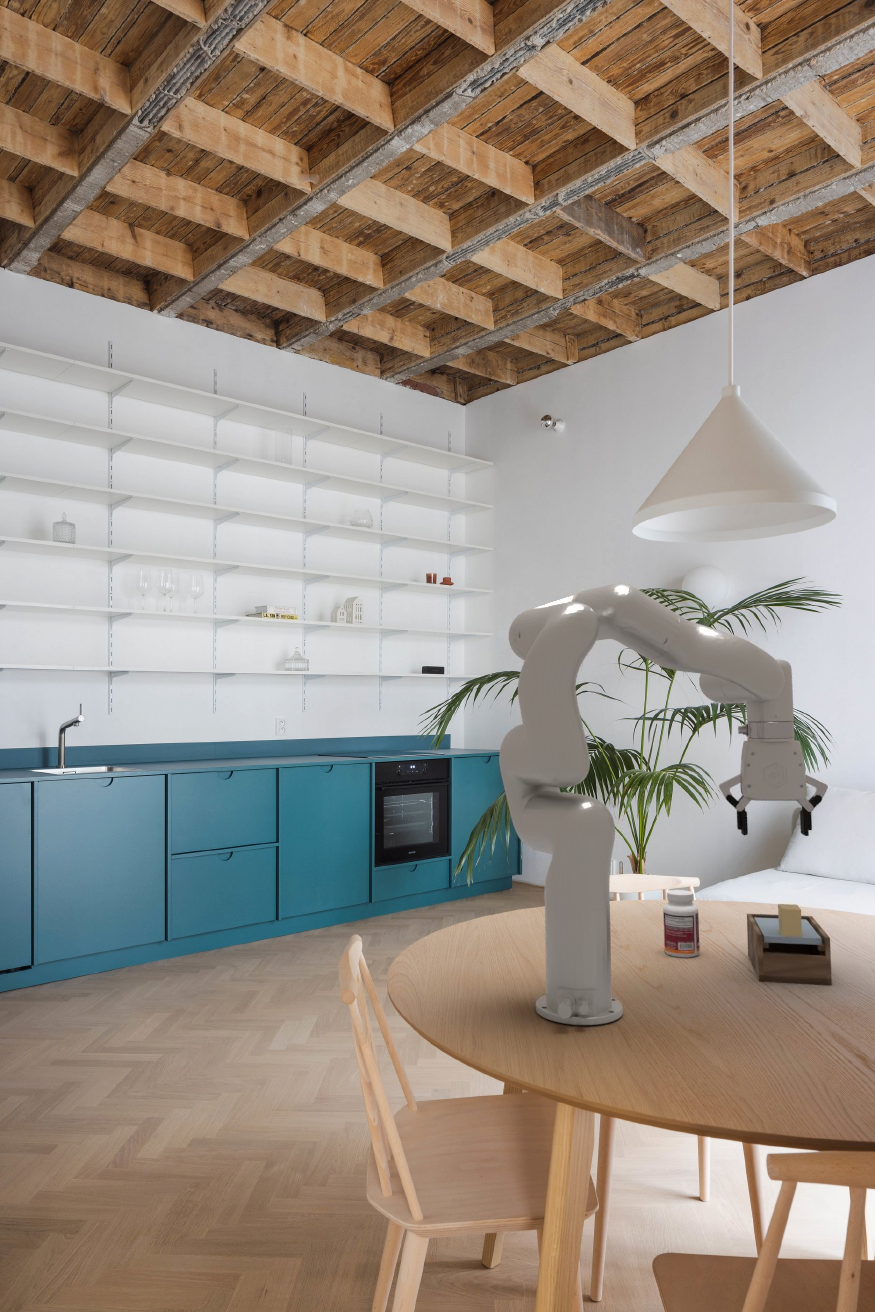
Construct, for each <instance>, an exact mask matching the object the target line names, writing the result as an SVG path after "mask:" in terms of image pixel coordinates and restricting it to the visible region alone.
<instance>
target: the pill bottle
mask: <svg viewBox="0 0 875 1312" xmlns="http://www.w3.org/2000/svg"><path fill="white" fill-rule="evenodd" d="M694 896H695V895H694V892H693V891H690V890H683V889H670V890H668V891H666V899H667V901H668V902H667V903H666V904H664V905H663V911H662V912H663V939H664V941H663V942H664V943H663V944H664V951H665V953H666V954H667V955H668V956H671V957H675V958H683V959H684V958H685V959H686V958H695V957H697V956H698V955H700V945H701V944H700V926H699V925H700V922H699V919H700V918H699V908H698V907H697V905H696V904H694V903H693V902H694Z"/></svg>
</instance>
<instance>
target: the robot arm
mask: <svg viewBox="0 0 875 1312" xmlns="http://www.w3.org/2000/svg"><path fill="white" fill-rule="evenodd" d="M603 640H613V641H616V642H618V643H620V644H621V645H623V646H625V647H627V648H628V649H630V650H632V651H634V652H635V653H637V654H639V655H641V656H642V657H644V658H646V659H647V660H649V661H650V662H652V663H654V664H655V665H658V666H660V667H662V668H665V669H669V670H673V671H676V672H677V671H678V672H684V673H685V672H686V673H693V674H699V678H698V681H699V682H698V683H699V687H700V690H701V692H702V694H703V695H704V696H705V697H706V698H707V699H709V700H711V701H712V702H714V703H719V704H743V703H744V704H745V706H746V709H745V711H746V712H745V713H746V722H745V724H744V725H738V726H737V732H738V733H737V734H738V735H744V736H745V737H746V738H747V739H746V740H743V741H742V747H741V758H740V773H739V774H737V775H735V776H733V777H731V778H729V779H727V780H725V781H723V782H722V783H720V784H719V785H718V789H719V790H720V792H721V793H722V796H724V799H725V800H726V802H728V803H729V804H730V805H731V806H732V807H733V808H734V809H735V810H736V827H737V828H736V829H737V830H739V831H740V833H741V834H742V836H748V835H749V832H748V831H749V829H748V825H749V824H748V811H746V807H747V806H748V805H749V804H750V802H751V801H754V802H755V801H757V802H760V801H762V802H763V801H764V802H765V801H766V802H770V801H771V802H791V801H795V802H797V803H798V804H799V805H800V806H801V809H800V811H799V819H800V820H799V823H800V824H799V825H800V826H799V827H800V834H802V835H803V836H804V837H809V831H813V821H812V820H813V819H812V812H813V811H814V809H815V808H817V806H818V805H819V804H821V802H822V801H823V798H824V797H825V795H826V793H827V791H828V788H829V787H828V785H827V784H826V783H824V782H822V781H820V780H818V779H816V778H814V777H812V776H809V775H807V774H806V767H805V758H804V753H803V748H802V744H801V741H800V740H795V723H794V721H795V720H794V718H795V717H794V715H795V714H794V695H793V693H794V692H793V671H792V666H791V663H790V662H789V661H787V660H785V659H776V658H774V656H772V655H771V654H770V653H768V652H767V651H766V650H764V649H763V648H760V647H759V646H757V645H756V644H755V643H753V642H751V641H749V640H747V639H745V638H743V637H740V636H737V635H734V634H731V633H728V632H726V631H722V630H718V629H715V628H712V627H710V626H707V625H704V624H700V623H697V622H694V621H691V620H688V619H686V618H684V617H683V616H682V615H680V614H678V613H677V612H674V611H673V610H671V608H668V607H667V606H665V605H664V604H662V603H661V602H659V601H658V600H656V599H654V598H653V597H651V596H649V595H648V594H646V593H645V592H643V591H641V590H639V589H638V588H636V587H634V586H632V585H630V584H626V583H614V584H607V585H603V586H598V587H593V588H590V589H585V590H581V591H579V592H576V593H573V594H571V595H568V596H565V597H563V598H560V599H558V600H554V601H551V602H548V603H544V604H543V605H539V606H536V607H533V608H530V609H527V610H524V611H522V612H521V613H520V614H518V615H517V616H516V617H515V618H514V619H513V621H512V622H511V624H510V627H509V631H508V642H509V646H510V649H511V650H512V651H513V653H514V654H515V655H516V656H517V657H518V658H519V659H521V660H522V661H524V662H523V665H522V667H521V670H520V672H519V673H520V674H519V676H518V677H519V678H518V681H517V682H518V683H517V695H518V696H517V698H518V705H519V709H520V715H521V716H520V717H521V722H522V723H521V724H519V725H516V726H514V727H513V728H511V729H510V730H509V731H508V732H507V733H506V735H504V738H503V739H502V742H501V745H500V749H499V755H498V757H499V758H498V759H499V760H498V761H499V762H498V764H499V769H500V775H501V778H502V783H503V788H504V792H505V796H506V797H505V798H506V801H507V805H508V808H509V809H508V810H509V813H510V817H511V822H512V824H513V827H514V830H515V833H516V834H517V837H518V838H519V840H521V842H522V843H523V844H524V845H525V846H526V847H528V848H529V849H531V850H535V851H538V852H541V853H546V854H550V855H552V856H551V860H550V863H549V866H548V870H547V872H546V877H545V881H544V882H545V883H544V890H543V891H544V894H543V895H544V900H543V901H544V923H545V924H544V925H545V926H544V930H545V931H544V932H545V933H544V934H545V935H544V936H545V937H544V938H545V940H544V941H545V990H546V991H545V993H546V994H544V995H541V996H540V997H539V998H537V999H536V1000H535V1001H536V1002H535V1011H536V1013H537V1014H538V1015H539V1016H540V1017H542V1018H544V1019H547V1020H549V1021H551V1022H556V1023H560V1024H565V1025H573V1026H595V1025H598V1026H599V1025H603V1024H609V1023H611V1022H615V1021H617V1020H618V1019H620V1018H621V1017H622V1016H623V1013H624V1009H623V1007H624V1006H623V1004H622V1003H621V1001H620V1000H618V999H617V998H615V997H613V996H612V993H613V991H612V954H611V953H612V946H611V944H612V943H611V940H612V939H611V904H610V897H611V896H610V878H611V862H612V857H613V856H612V855H613V851H614V845H615V844H614V843H615V839H616V825H615V820H614V817H613V814H612V813H611V810H609V808H608V807H607V806H606V805H605V804H604V803H603V802H601V800H598V799H597V798H595V797H593V796H590V795H586V794H581V793H575V792H563V791H561V788H571V787H574V786H577V785H579V784H580V783H582V782H583V781H584V780H585V779H586V778H587V776H588V774H589V771H590V767H591V762H590V761H591V760H590V753H589V747H588V743H587V738H586V735H585V730H584V726H583V725H584V724H583V721H582V717H581V713H580V712H581V711H580V708H579V703H578V697H577V688H576V687H577V686H576V685H577V678H578V674H579V672H580V669H581V667H582V664H583V662H584V660H585V659H586V657H587V656H588V654H589V653H590V652H591V650H592V649H593V647H594V646H595V644H596V642H597V641H603ZM739 784H740V792H741V796H740V797H739V798H738V800H737V798H736V797H734V795H733V794H732V792H731V790H730V789H731V788H733V787H734V786H737V785H739ZM807 785H809V786H812V787H813V788H815V791H814V795H813V796H811V797H810V798H809V799H807V798H806V797H807V789H808V787H807Z"/></svg>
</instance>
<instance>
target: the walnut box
mask: <svg viewBox="0 0 875 1312" xmlns="http://www.w3.org/2000/svg"><path fill="white" fill-rule="evenodd" d="M754 917H756V918H778V914H769V913H768V914H767V913H766V914H764V913H746V925H747V926H746V929H747V932H746V934H747V956H748V959H749V961H750V963H751V965H752V968H753V970H754V972H755V976H756V977H757V980H758V982H762V983H763V982H767V983H785V984H803V985H804V984H805V985H822V986H823V985H824V986H832V984H833V983H832V981H833V979H832V957H831V956H832V955H831V953H832V951H831V938H830V936H829V935H828V934H827V933H826V931H825V930H824V929H823V927H822V926H821V925H820V924H819V923H818V921H817V920H816V919H815V918H814V917H813V916H812V915H801V919H806V920H807V921H808V922H809V923H810V925H811V926H812V927H813V928H814V930H815V931H816V932H817V933H818V935H819V936H820V937H821V939H822V945H813V944H791V943H769V942H764V941H763V939H762V934H761V932H760V930H759V928H758V926H757V924H756V922H755V920H754Z"/></svg>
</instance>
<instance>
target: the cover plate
mask: <svg viewBox="0 0 875 1312" xmlns="http://www.w3.org/2000/svg"><path fill="white" fill-rule="evenodd" d="M777 911H778V913H777V915H778V918H756V917H754V920H755V922H756V924H757V926H758V928H759V930H760V932H761V934H762V939H763V941H764V942H769V943H791V944H813V945H822V939H821V937H820V936H819V935H818V933H817V932H816V931H815V930H814V928H813V927H812V926H811V925H810V923H809V922H808V921H807V920H806V919H801V916H802V908H800V906H799V905H798V904H791V903H789V904H787V903H777Z"/></svg>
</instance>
